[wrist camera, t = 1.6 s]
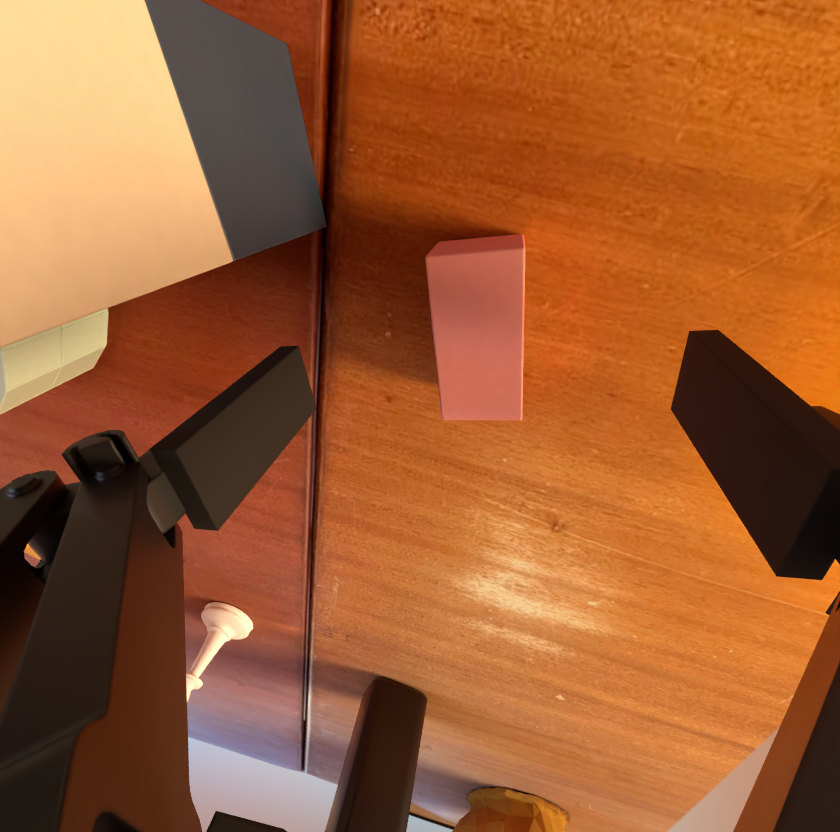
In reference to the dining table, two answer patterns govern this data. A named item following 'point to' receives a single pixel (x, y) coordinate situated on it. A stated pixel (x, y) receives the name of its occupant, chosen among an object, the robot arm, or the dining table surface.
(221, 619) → the chess piece
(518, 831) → the pitcher
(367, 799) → the wine bottle
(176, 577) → the robot arm
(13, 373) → the bowl
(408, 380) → the dining table surface
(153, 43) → the book stack
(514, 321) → the eraser
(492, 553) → the dining table surface
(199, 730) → the dining table surface
